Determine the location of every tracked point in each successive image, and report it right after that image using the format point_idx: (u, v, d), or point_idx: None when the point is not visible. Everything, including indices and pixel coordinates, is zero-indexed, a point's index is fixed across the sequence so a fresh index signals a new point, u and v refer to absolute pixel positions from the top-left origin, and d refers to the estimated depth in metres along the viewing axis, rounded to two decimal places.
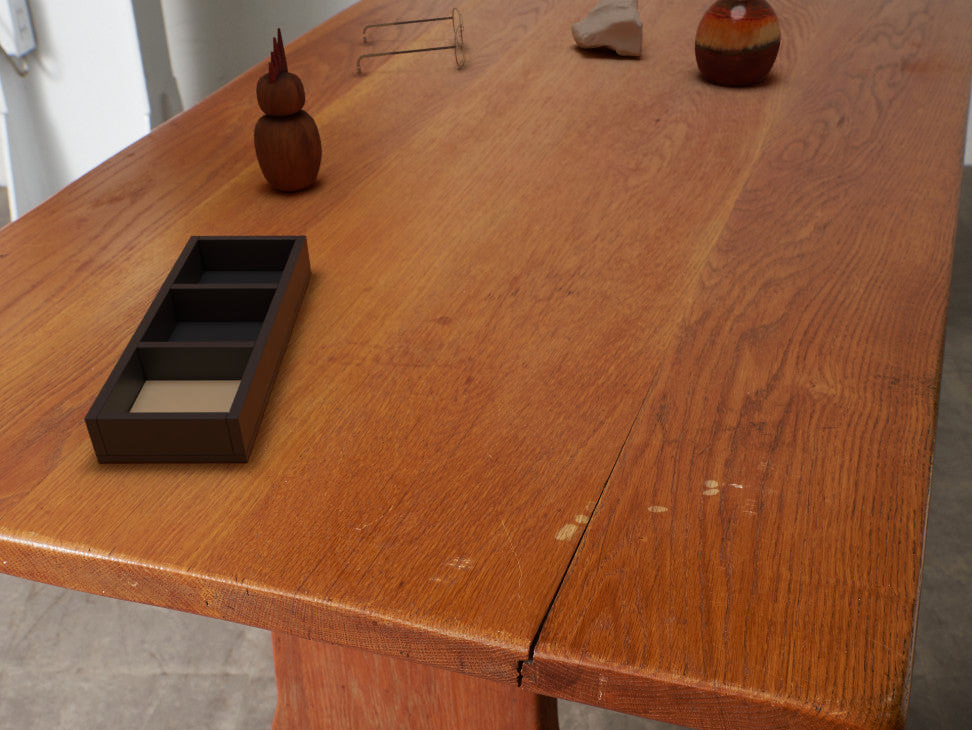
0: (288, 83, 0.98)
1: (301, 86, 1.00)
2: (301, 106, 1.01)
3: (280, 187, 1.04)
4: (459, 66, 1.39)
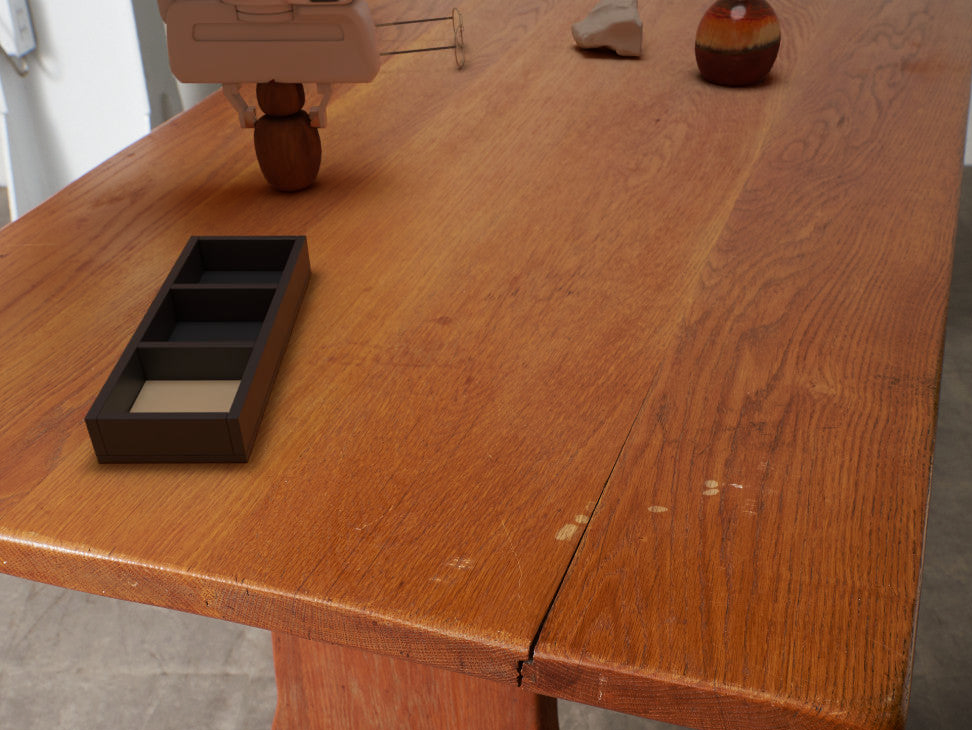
0: (287, 83, 0.98)
1: (301, 86, 1.00)
2: (301, 106, 1.01)
3: (280, 187, 1.04)
4: (459, 66, 1.39)
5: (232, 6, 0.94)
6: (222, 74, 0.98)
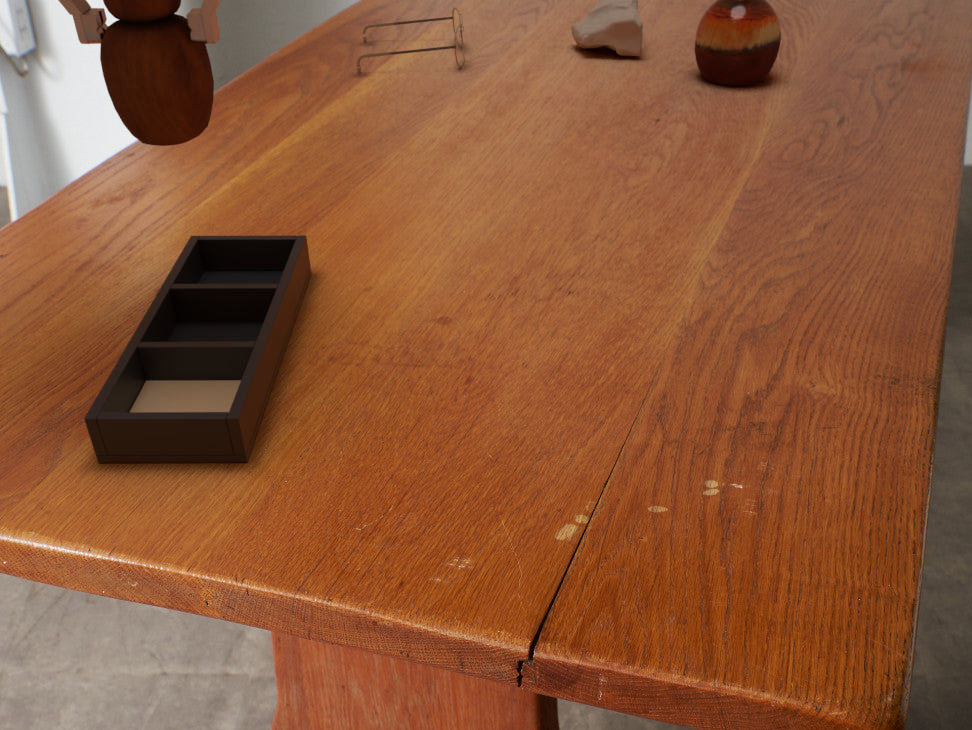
0: None
1: None
2: (174, 6, 0.63)
3: (147, 139, 0.66)
4: (459, 66, 1.39)
5: None
6: None
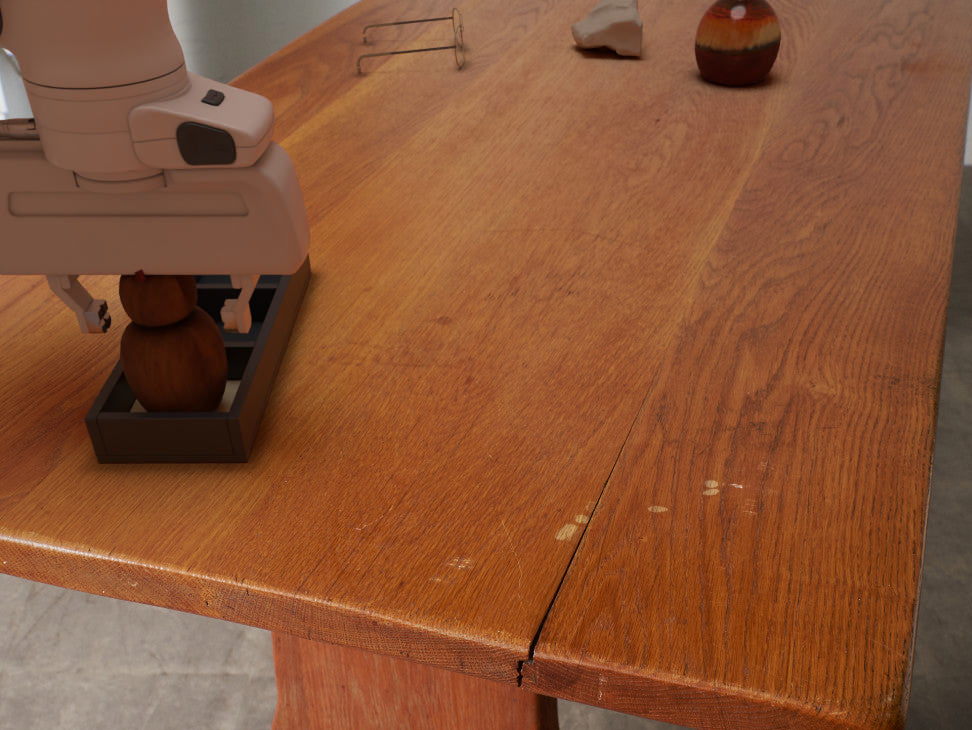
0: (165, 281, 0.64)
1: (189, 281, 0.65)
2: (190, 309, 0.66)
3: None
4: (459, 66, 1.39)
5: None
6: (60, 263, 0.62)
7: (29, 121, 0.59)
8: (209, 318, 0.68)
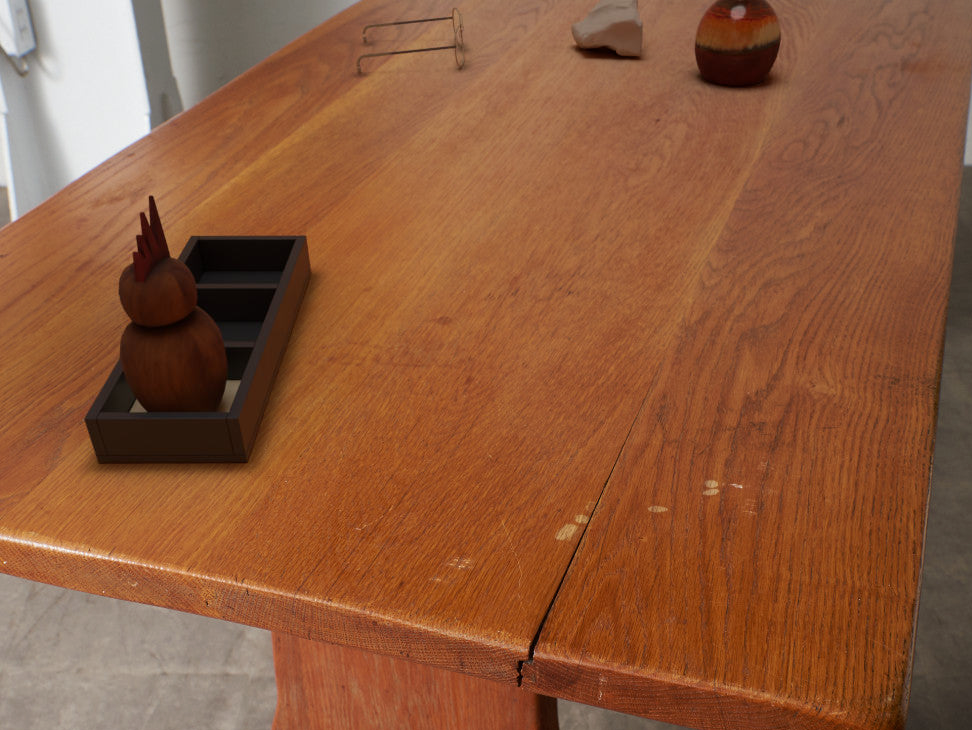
0: (165, 281, 0.64)
1: (188, 281, 0.65)
2: (190, 309, 0.66)
3: None
4: (459, 66, 1.39)
5: None
6: None
7: None
8: (209, 318, 0.68)
